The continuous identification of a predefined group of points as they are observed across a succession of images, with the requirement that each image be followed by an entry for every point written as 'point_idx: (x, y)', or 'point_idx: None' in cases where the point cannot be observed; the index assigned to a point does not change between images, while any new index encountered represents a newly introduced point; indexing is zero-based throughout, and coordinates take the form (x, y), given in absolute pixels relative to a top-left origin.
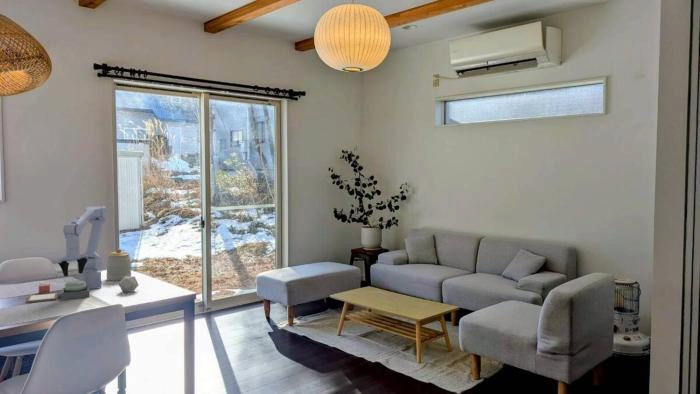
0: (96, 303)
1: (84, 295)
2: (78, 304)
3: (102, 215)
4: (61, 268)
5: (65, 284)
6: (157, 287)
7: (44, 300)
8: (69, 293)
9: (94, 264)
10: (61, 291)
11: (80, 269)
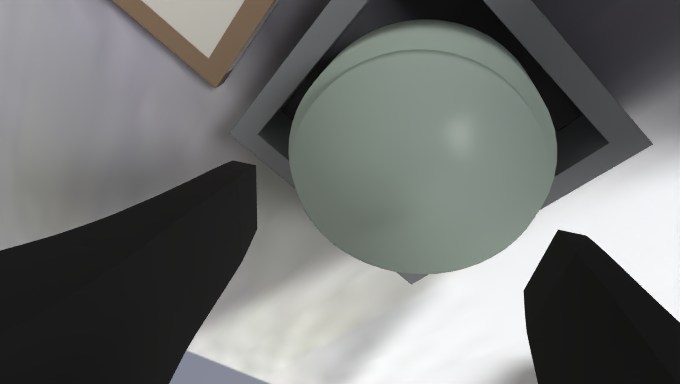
0: (306, 355)
1: None
2: (244, 294)
3: None
4: (72, 239)
5: (336, 67)
6: None
7: (138, 15)
8: (290, 178)
9: None
10: (279, 68)
11: (559, 343)
